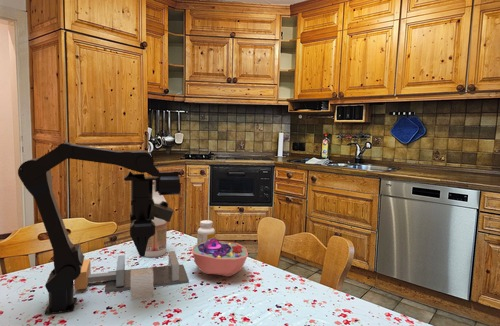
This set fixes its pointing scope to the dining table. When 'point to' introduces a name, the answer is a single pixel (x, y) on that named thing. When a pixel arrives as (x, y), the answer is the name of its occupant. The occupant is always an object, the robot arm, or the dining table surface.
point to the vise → (155, 275)
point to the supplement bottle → (205, 231)
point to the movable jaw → (100, 274)
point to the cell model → (219, 257)
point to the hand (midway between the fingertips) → (141, 250)
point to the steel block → (141, 283)
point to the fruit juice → (157, 232)
